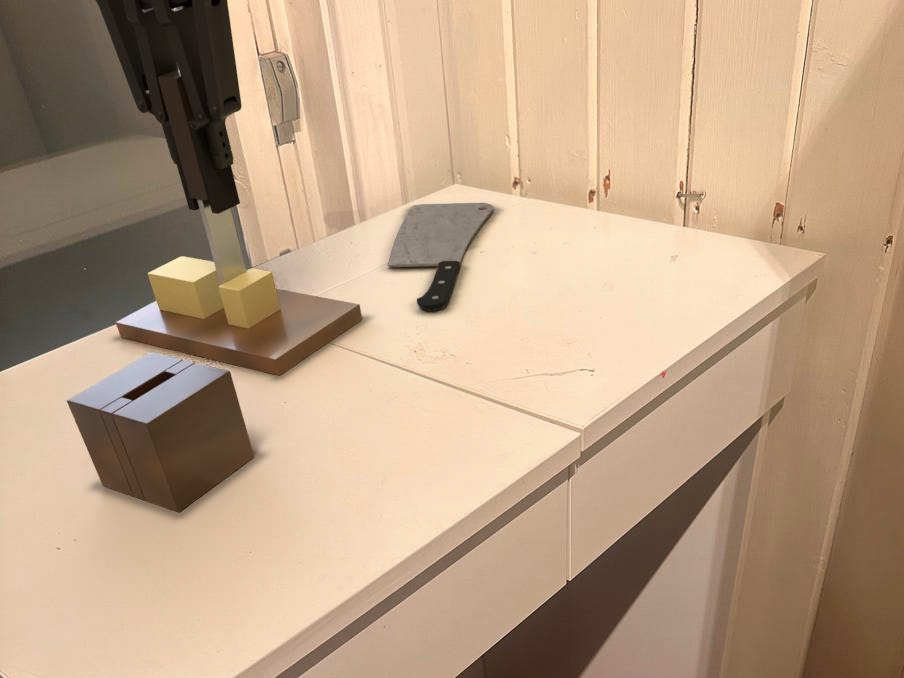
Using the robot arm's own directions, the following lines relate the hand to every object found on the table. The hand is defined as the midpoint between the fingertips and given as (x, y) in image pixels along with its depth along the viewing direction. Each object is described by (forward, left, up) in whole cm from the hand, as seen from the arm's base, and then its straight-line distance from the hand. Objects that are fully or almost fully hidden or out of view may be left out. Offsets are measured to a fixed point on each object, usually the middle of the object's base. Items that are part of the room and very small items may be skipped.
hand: (214, 205), depth 78 cm
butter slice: (+1, 0, -10) cm, 10 cm away
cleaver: (+6, +22, -11) cm, 25 cm away
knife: (0, 0, -9) cm, 9 cm away
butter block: (-6, 0, -10) cm, 11 cm away
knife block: (+12, -21, -11) cm, 27 cm away
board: (-1, 0, -11) cm, 11 cm away
